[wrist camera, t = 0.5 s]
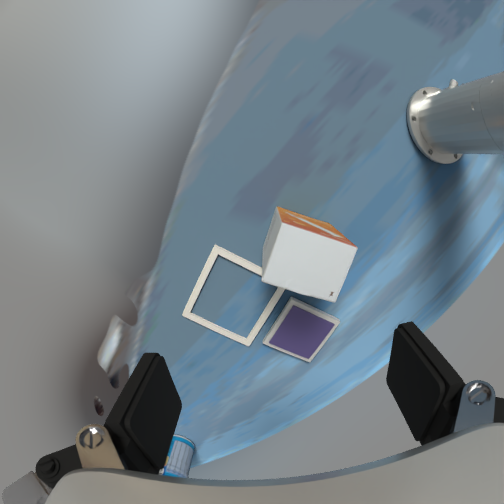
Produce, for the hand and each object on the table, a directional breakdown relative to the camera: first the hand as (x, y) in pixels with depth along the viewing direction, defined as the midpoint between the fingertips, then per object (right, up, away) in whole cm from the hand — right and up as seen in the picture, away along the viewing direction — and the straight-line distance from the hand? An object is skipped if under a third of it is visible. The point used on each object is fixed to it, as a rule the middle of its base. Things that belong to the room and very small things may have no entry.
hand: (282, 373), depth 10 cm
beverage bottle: (-19, -42, +44) cm, 64 cm away
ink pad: (+7, -8, +33) cm, 34 cm away
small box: (+5, +7, +29) cm, 30 cm away
